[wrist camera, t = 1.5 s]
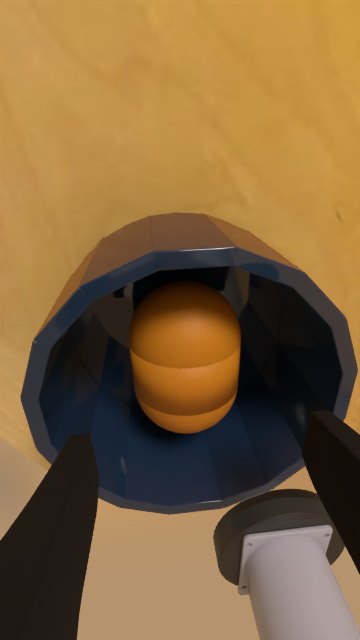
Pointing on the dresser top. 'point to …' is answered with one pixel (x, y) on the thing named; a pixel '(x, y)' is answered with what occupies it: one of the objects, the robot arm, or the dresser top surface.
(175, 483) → the pot
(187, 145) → the dresser top surface
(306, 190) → the dresser top surface
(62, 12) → the dresser top surface
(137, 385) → the orange banded oval part
